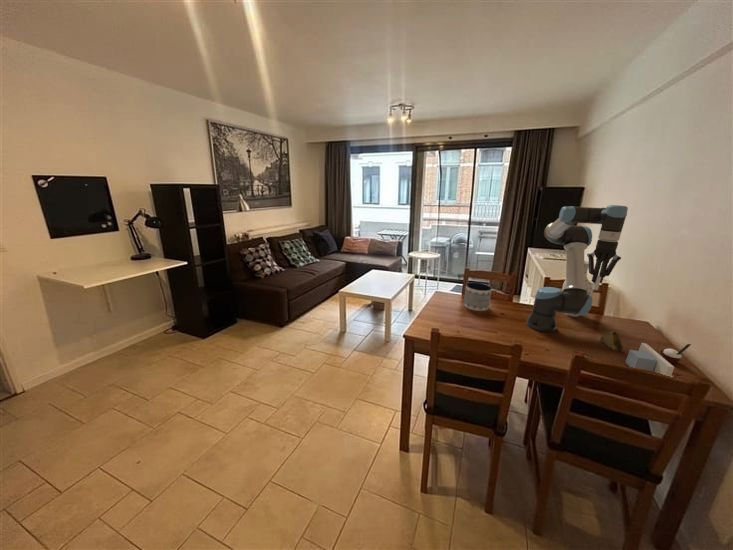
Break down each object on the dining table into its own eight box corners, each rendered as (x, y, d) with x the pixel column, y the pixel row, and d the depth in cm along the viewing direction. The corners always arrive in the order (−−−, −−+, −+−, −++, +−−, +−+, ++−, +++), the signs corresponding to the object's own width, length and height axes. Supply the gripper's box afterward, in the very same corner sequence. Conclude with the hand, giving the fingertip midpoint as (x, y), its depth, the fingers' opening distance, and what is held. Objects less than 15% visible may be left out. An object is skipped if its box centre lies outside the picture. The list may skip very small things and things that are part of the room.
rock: (594, 334, 163) (599, 340, 154) (608, 324, 160) (615, 330, 151) (610, 349, 161) (617, 356, 152) (626, 340, 158) (633, 346, 149)
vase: (552, 312, 195) (565, 260, 184) (561, 306, 205) (573, 257, 194) (581, 321, 183) (596, 266, 173) (589, 315, 193) (604, 262, 183)
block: (633, 370, 136) (638, 357, 134) (625, 362, 143) (629, 349, 140) (652, 373, 134) (657, 360, 132) (642, 365, 141) (647, 352, 139)
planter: (461, 301, 210) (464, 281, 206) (485, 303, 208) (488, 283, 204) (465, 310, 195) (468, 289, 191) (491, 312, 193) (494, 291, 189)
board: (662, 382, 128) (668, 366, 126) (636, 357, 147) (641, 342, 144) (679, 385, 127) (686, 369, 124) (651, 359, 145) (656, 345, 143)
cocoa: (656, 356, 149) (662, 334, 146) (671, 358, 148) (678, 335, 145) (669, 366, 140) (676, 342, 137) (685, 368, 139) (693, 344, 136)
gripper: (595, 240, 134) (582, 290, 141) (629, 242, 131) (614, 293, 138) (588, 237, 141) (576, 285, 148) (620, 239, 138) (606, 288, 145)
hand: (594, 289), depth 143 cm, fingers closed
